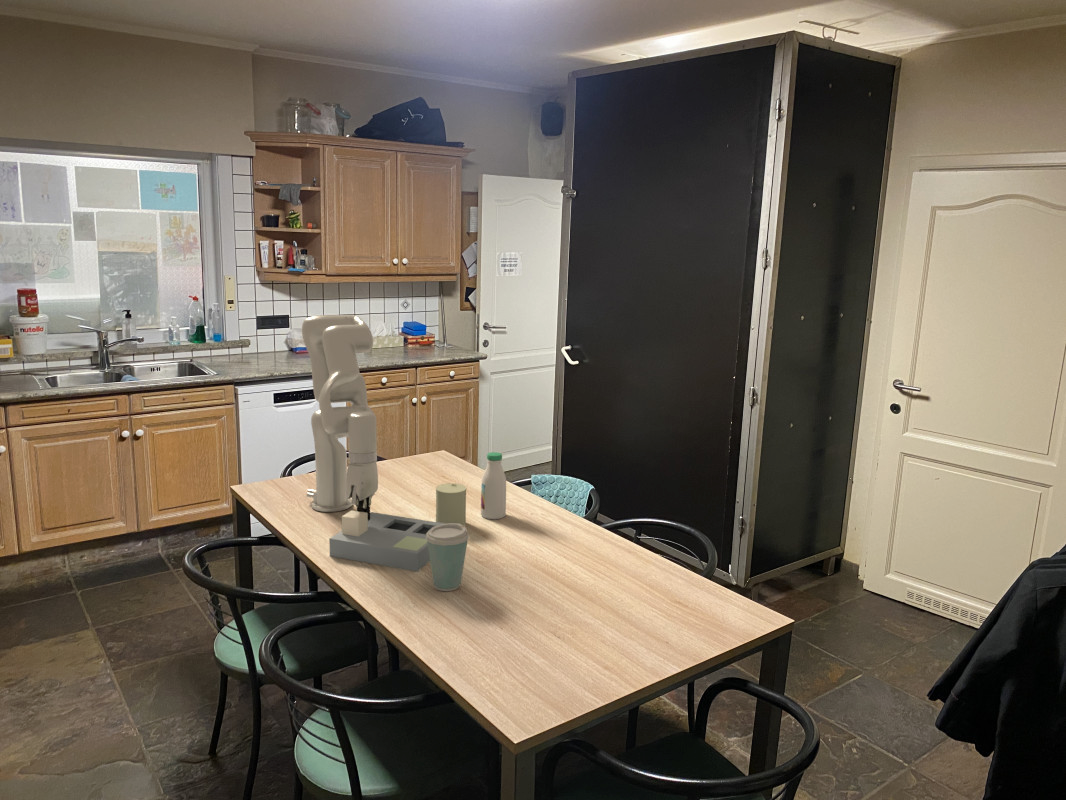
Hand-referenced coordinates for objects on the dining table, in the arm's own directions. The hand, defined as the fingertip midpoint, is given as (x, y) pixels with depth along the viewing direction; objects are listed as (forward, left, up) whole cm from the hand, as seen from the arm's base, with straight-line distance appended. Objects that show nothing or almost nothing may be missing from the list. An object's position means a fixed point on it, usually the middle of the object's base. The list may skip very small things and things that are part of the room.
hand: (363, 520), depth 216 cm
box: (+9, 0, -7) cm, 12 cm away
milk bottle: (+25, +35, -7) cm, 43 cm away
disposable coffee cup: (+33, -16, -7) cm, 37 cm away
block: (0, -5, -2) cm, 5 cm away
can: (+16, +23, -7) cm, 29 cm away
